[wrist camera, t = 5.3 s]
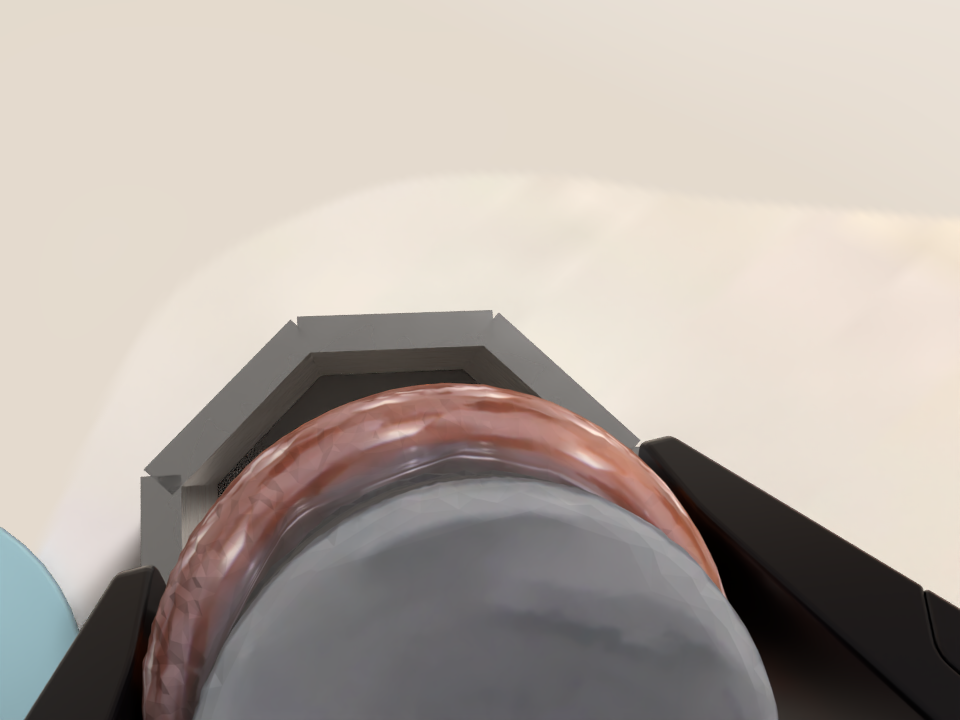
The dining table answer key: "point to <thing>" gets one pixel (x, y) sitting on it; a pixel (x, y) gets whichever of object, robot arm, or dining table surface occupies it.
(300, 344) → the grey octagonal bowl
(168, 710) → the supplement bottle
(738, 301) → the dining table surface
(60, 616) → the teal mat
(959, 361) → the dining table surface
